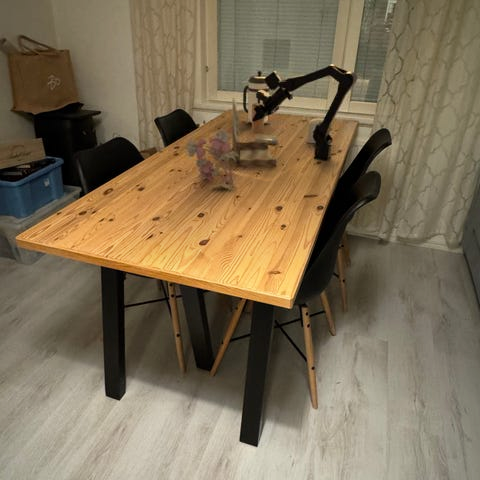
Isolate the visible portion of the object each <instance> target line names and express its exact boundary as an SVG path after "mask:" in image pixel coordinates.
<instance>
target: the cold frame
mask: <svg viewBox="0 0 480 480" xmlns="http://www.w3.org/2000/svg"><path fill="white" fill-rule="evenodd" d="M235 98H236V97H234V96H232V151H235V152H236V153H237V154H238V155H239V157H240V158H239V157H238V156H234V155H233V156H234V158H235V160H234V163H235V167H236V168H266V167H267V168H268V167H269V168H272V167H273V168H274V167H277V160H278V159H277V158H273V156H272V154H271V151H270V149H269V145H268V141H256V142H255V141H241V139H240V136H239V128H240V126H239V125H240V124H239V117H240V116H239V111H240V110H239V107H238V104H237V101H236V99H235Z"/></svg>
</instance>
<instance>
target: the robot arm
mask: <svg viewBox="0 0 480 480" xmlns="http://www.w3.org/2000/svg"><path fill="white" fill-rule="evenodd" d="M266 76H267V77H266V78H265V79H264V80H263V81H264V82H265V83H266V85H267V86H268V87H269V89H270V91H273V92H274V91H275V92H274V93H272V94H268V93H267V92H265V91H264V90H259V91H258V92H257V93H256V98H258V99H260V100H261V101H263V102H262V103H263V105H264V106H263V105H261V104H259V105H257V106H255V107H254V110H255V111H256V114H255V116H254V117H253V119H252V121H253V122H254V121H257V120H260V119H263V118H265V117H266V116H268V117H269V116H270V115H273V114H274V113H276V112H278V111H279V110H280V106H281V105H282V104H283V103H284V102H285V100H288V101H291V100H292V99H293V97H294V93H292V92H294V91H296V90H298V89H300V88H302V87H303V86H305V85H307V84H309V83H312V82H314V81H318V80H320V79H323V78H325V77H328V76H329V77H331V78H332V79H334V80H335V81H336V82H338V85H337V91H336V93H335V95H334V98H333V100H332V101H331V103H330V106H329V107H328V110H327V112H326V113H325V116H324V118H323V119H324V120H323V122H322V123H321V122H319V123H318V124H317V125H316V127H315V130H314V131H313V133H314V134H313V139H314V140H315V142H316V143H315V148H314V156H313V158H314V159H317V160H322V161H328V160H329V159H330V158H332V156H331V152H332V151H331V150H332V143H333V141H334V138H333V136H331V134H330V132H331V129H332V124H333V122H334V120H335V118H336V116H337V114H338V112H339V109H340V107H341V106H342V104H343V102H344V100H345V98H346V96H347V95H348V93H349V92H350V91H351V90H352V89H353V87H354V85H355V84H356V83H357V80H358V76H357V74H356V73H355V72H354V71H347V70H346V69H344V68H341V67H339V66H337V65H336V64H329V65H328V66H326V67H323V68H321V69H318V70H315V71H313V72H309V73H307V74H302V75H294V76H291V77H289V78H287V79H282V78H281V77H280V76H279V74H278V72H277V71H276V70H274V71H272V72H270V73H269V74H268V75H266ZM293 100H294V99H293Z"/></svg>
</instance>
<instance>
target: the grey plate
mask: <svg viewBox="0 0 480 480" xmlns="http://www.w3.org/2000/svg"><path fill="white" fill-rule="evenodd" d="M256 141H268V146H276V145H278V144H279V138H278V137H277V136H275V135H267V134H266V135H263V134H262V135H258V136H256V137H254V142H256Z"/></svg>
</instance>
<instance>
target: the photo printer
mask: <svg viewBox="0 0 480 480" xmlns="http://www.w3.org/2000/svg"><path fill="white" fill-rule="evenodd" d="M323 120H324V118H321V117H320V118H319V117H318V118H313V119H309V122H308V128H307V129H308V130H307V138H306V139H307V140H306V142H307V143H308V144H316V142H315V140H314V139H313V134H314V133H313V131H314V130H315V127H316V125H317V124H318V123H319V122H321V123H322V122H323Z"/></svg>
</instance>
